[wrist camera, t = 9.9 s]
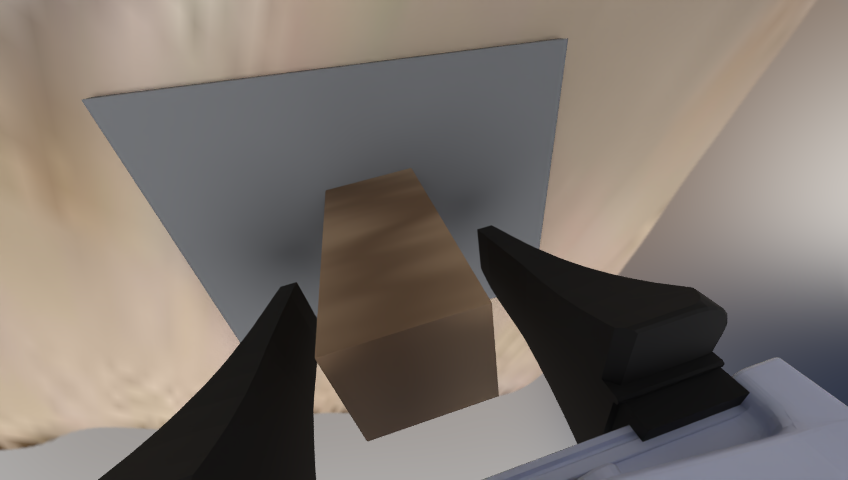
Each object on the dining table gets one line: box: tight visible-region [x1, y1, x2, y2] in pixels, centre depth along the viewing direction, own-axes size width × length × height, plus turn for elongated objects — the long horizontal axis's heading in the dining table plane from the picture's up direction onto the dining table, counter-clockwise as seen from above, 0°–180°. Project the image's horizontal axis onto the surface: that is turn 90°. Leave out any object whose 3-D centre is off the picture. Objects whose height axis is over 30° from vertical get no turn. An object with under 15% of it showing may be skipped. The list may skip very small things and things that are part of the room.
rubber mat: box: [82, 39, 568, 343], centre depth 16 cm, size 18×14×1 cm
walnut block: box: [315, 168, 499, 441], centre depth 12 cm, size 4×4×9 cm
